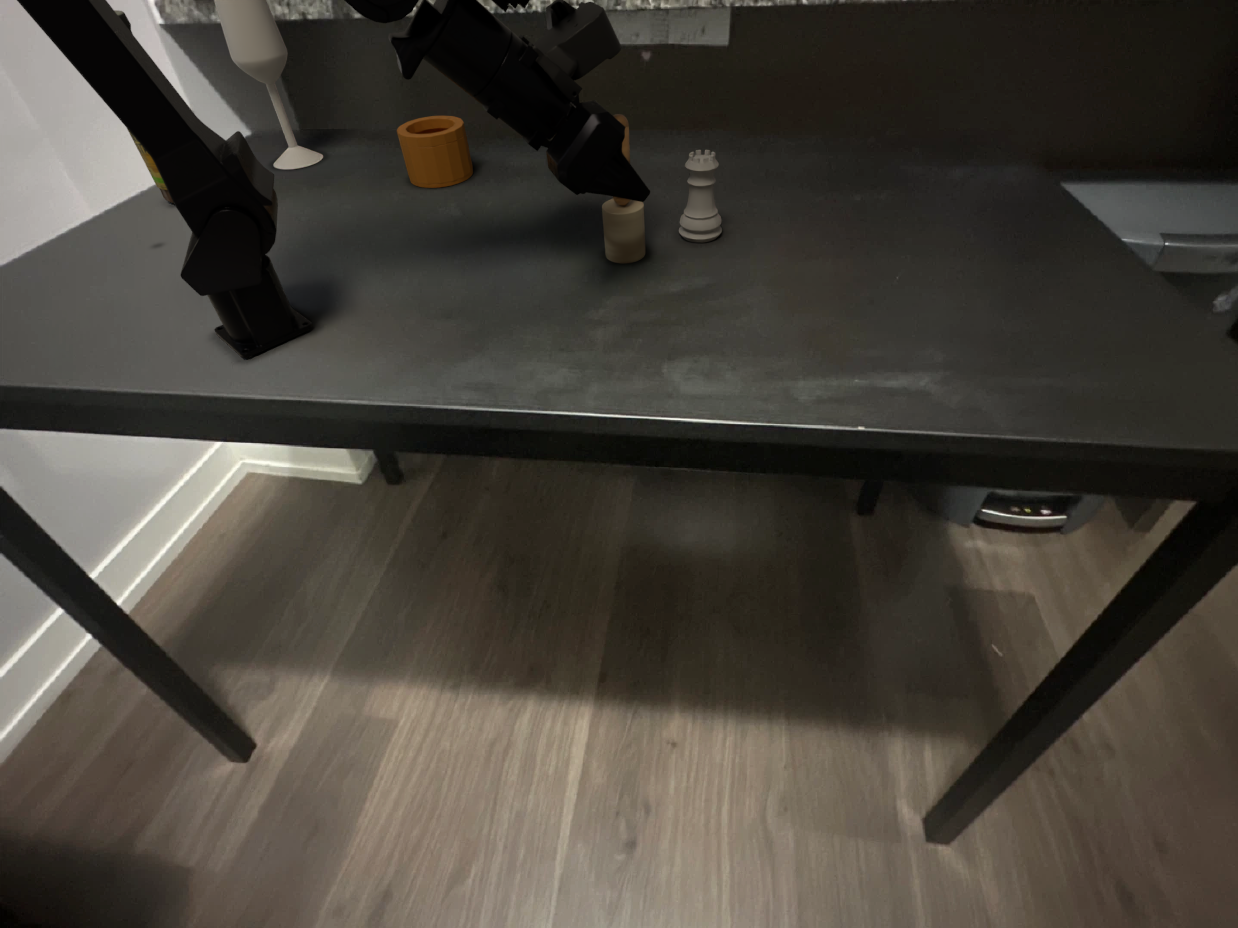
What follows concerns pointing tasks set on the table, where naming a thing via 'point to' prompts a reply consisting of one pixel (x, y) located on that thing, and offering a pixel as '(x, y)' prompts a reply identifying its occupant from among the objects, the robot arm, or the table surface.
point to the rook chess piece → (701, 200)
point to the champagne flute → (262, 63)
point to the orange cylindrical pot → (435, 151)
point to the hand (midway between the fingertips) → (629, 179)
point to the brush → (624, 220)
